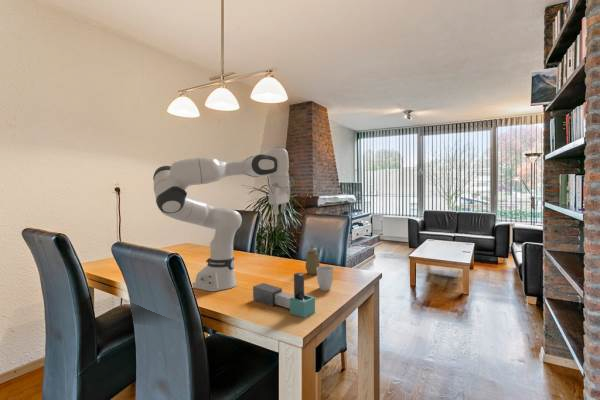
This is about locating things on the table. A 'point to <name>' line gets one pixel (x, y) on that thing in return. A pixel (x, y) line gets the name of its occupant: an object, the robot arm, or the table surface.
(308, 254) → the squeeze bottle
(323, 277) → the cup
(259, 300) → the sleeve
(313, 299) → the socket
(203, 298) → the table surface
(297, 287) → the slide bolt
